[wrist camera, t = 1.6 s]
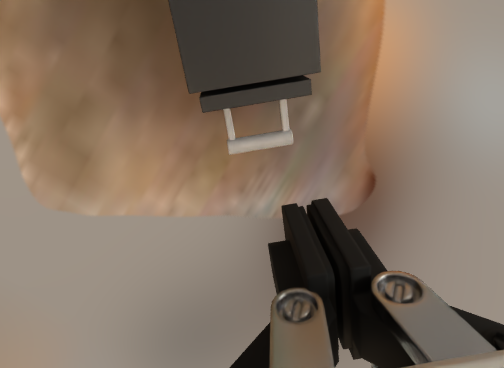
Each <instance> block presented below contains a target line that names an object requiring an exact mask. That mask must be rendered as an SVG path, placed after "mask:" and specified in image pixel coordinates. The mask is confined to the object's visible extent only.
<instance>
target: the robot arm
mask: <svg viewBox="0 0 504 368" xmlns="http://www.w3.org/2000/svg"><path fill="white" fill-rule="evenodd" d="M282 215H283V223H284V231H285V239H286V240H285V241H280V242H274V243H269V244H268V247H269V254H270V261H271V267H272V273H273V278H274V283H275V288H276V293H277V296H275V298H274V299H273V301H272V304H271V320H270V323H269V324H268V325H267V326H266V327H265V329H264V330H263V331H262V332H261V333H260V334H259V335H258V336H257V337H256V339H255V340H254V341H253V342H252V343H251V344H250V345H249V346H248V348H247V349H246V350H245V351H244V352H243V353H242V354H241V356H240V357H239V358H238V359H237V360H236V361H235V362H234V363H233V364H232V365H231V367H230V368H335V367H336V365H337V363H338V362H339V356H338V350H339V345H338V338H339V340H340V343H341V345H342V348H343V349H348V348H349V350H350V352H351V355H352V357H353V359H360V358H363V359H364V360H366V361H368V362H370V363H371V367H372V368H504V325H503V324H500V323H497V322H494V321H491V320H489V319H486V318H483V317H480V316H477V315H474V314H472V313H469V312H466V311H463V310H460V309H458V308H455V307H452V306H449V305H448V304H447V303H446V302H444V301H443V300H442V299H441V298H440V297H439V296H438V295H437V294H436V293H435V292H434V291H433V290H431V289H430V288H429V287H428V286H427V285H426V284H425V283H424V282H423V281H421V280H420V279H419V278H417V277H416V276H414V275H412V274H409V273H406V272H401V271H387V270H386V268H385V267H384V265H383V264H382V263H381V261H380V260H379V259H378V257H377V255H376V254H375V253H374V251H373V250H372V248H371V247H370V246H369V244H368V243H367V241H366V240H365V238H364V237H363V236H362V234H361V233H360V231H359V230H358V229H350V230H348V229H347V228H346V226H345V225H344V223H343V222H342V220H341V219H340V217H339V216H338V214H337V212H336V211H335V209H334V208H333V206H332V205H331V203H330V202H329V200H328V199H327V198H324V199H318V200H312V202H311V205H307V214H306V212H305V209H304V207H303V206H300V207H298V205H297V203H295V204H289V205H283V206H282Z"/></svg>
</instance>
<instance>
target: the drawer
mask: <svg viewBox="0 0 504 368" xmlns="http://www.w3.org/2000/svg"><path fill="white" fill-rule="evenodd" d="M307 95H312V91H311V79H309V78H307V77H305V76H303V75H301V76H295V77H289V78H283V79H276V80H270V81H264V82H258V83H252V84H246V85H240V86H234V87H228V88H222V89H216V90H210V91H204V92H201V95H200V103H201V108H202V112H203V113H204V112H210V111H216V110H224V115H225V121H226V126H227V132H228V137H229V139H228V140H227V144H228V150H229V154H230V155H231V154H237V153H243V152H249V151H255V150H261V149H267V148H273V147H279V146H285V145H290V144H293V134H292V131H291V129H289V121H288V111H287V101H286V99H289V98H295V97H301V96H307ZM277 100H279V106H280V115H281V124H282V131H276V132H270V133H264V134H258V135H252V136H246V137H240V138H235V133H234V127H233V121H232V116H231V110H230V108H235V107H241V106H247V105H253V104H259V103H265V102H271V101H277Z"/></svg>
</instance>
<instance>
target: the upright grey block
mask: <svg viewBox="0 0 504 368" xmlns="http://www.w3.org/2000/svg"><path fill="white" fill-rule="evenodd" d="M168 1H169V6H170V10H171V15H172V19H173V24H174V28H175V33H176V37H177V42H178V46H179V51H180V55H181V60H182V64H183V69H184V73H185V78H186V82H187V87H188V91H189V94H191V93H198V92H204V91H210V90H216V89H222V88H228V87H234V86H240V85H246V84H252V83H258V82H264V81H270V80H276V79H283V78H289V77H295V76H301V75H307V74H313V73H319V72H321V66H320V48H319V30H318V12H317V0H168Z"/></svg>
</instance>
